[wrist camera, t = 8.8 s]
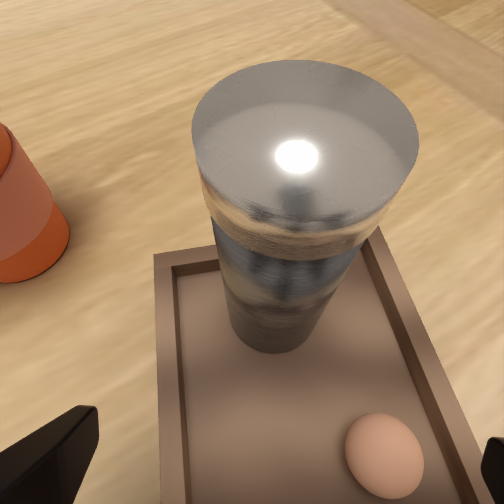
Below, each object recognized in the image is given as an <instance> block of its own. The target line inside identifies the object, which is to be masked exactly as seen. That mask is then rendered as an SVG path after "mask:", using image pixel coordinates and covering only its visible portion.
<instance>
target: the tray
mask: <svg viewBox="0 0 504 504" xmlns="http://www.w3.org/2000/svg"><path fill="white" fill-rule="evenodd" d="M154 285H155V318H156V350H157V383H158V416H159V448H160V481H161V504H495V503H494V501H493V498H492V496H491V494H490V492H489V490H488V488H487V486H486V484H485V482H484V480H483V477H482V474H481V469H480V465H481V461H482V458H483V455H482V453H481V451H480V449H479V447H478V444H477V442H476V440H475V438H474V436H473V433H472V431H471V429H470V427H469V425H468V422H467V420H466V418H465V416H464V413H463V411H462V409H461V407H460V405H459V402H458V400H457V398H456V396H455V394H454V391H453V389H452V387H451V385H450V383H449V380H448V378H447V376H446V374H445V371H444V369H443V367H442V365H441V363H440V360H439V358H438V356H437V354H436V352H435V349H434V347H433V345H432V343H431V341H430V338H429V336H428V334H427V332H426V329H425V327H424V325H423V323H422V321H421V318H420V316H419V314H418V312H417V310H416V307H415V305H414V303H413V301H412V299H411V296H410V294H409V292H408V290H407V288H406V285H405V283H404V281H403V279H402V276H401V274H400V272H399V270H398V268H397V265H396V263H395V261H394V259H393V257H392V254H391V252H390V250H389V248H388V246H387V243H386V241H385V239H384V237H383V234H382V232H381V230H380V228H379V226H377V228H376V229H375V230H374V231H373V232H372V234H371V235H370V236H369V237H368V238H366V240H365V241H364V243H363V245H362V246H361V248H360V250H359V252H358V253H357V255H356V257H355V258H354V260H353V262H352V264H351V265H350V267H349V269H348V271H347V272H346V274H345V276H344V277H343V279H342V281H341V283H340V284H339V286H338V288H337V289H336V291H335V293H334V295H333V296H332V298H331V300H330V302H329V303H328V305H327V307H326V308H325V310H324V312H323V314H322V315H321V317H320V319H319V321H318V322H317V324H316V326H315V327H314V329H313V331H312V333H311V334H310V336H309V337H308V338H307V340H306V341H305V342H304V343H303V344H301V345H300V346H299V347H297V348H295V349H293V350H291V351H289V352H286V353H280V354H268V353H263V352H259V351H257V350H254V349H252V348H250V347H249V346H247V345H246V344H245V343H244V342H243V341H241V340H240V338H239V337H238V336H237V335H236V333H235V332H234V330H233V328H232V325H231V322H230V319H229V313H228V308H227V302H226V297H225V291H224V286H223V280H222V275H221V269H220V264H219V258H218V253H217V247H216V245H210V246H204V247H197V248H191V249H184V250H178V251H172V252H165V253H159V254H154ZM369 413H384V414H388V415H391V416H393V417H395V418H397V419H399V420H400V421H401V422H403V423H404V424H405V425H406V426H407V427H408V428H409V429H410V430H411V431H412V432H413V434H414V435H415V437H416V438H417V440H418V442H419V444H420V447H421V450H422V453H423V458H424V471H423V476H422V479H421V481H420V483H419V485H418V487H417V488H416V489H415V490H414V491H413V492H412V493H411V494H409V495H408V496H406V497H403V498H400V499H385V498H381V497H378V496H376V495H374V494H372V493H370V492H369V491H367V490H366V489H365V488H364V487H363V486H362V485H361V484H360V483H359V482H358V481H357V480H356V478H355V477H354V476H353V474H352V472H351V470H350V468H349V466H348V463H347V460H346V455H345V439H346V436H347V432H348V430H349V428H350V427H351V425H352V424H353V423H354V422H355V421H356V420H357V419H358V418H359V417H361V416H363V415H366V414H369Z"/></svg>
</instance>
